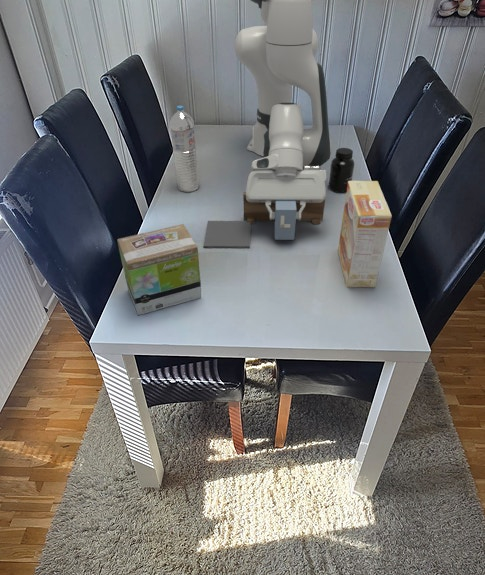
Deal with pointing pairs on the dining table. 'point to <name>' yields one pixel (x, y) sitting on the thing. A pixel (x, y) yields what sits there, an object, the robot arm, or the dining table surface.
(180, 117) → the water bottle
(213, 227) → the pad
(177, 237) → the tea box
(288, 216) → the letter block
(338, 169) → the supplement bottle
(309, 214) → the screen
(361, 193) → the coffeecake box
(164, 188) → the dining table surface
